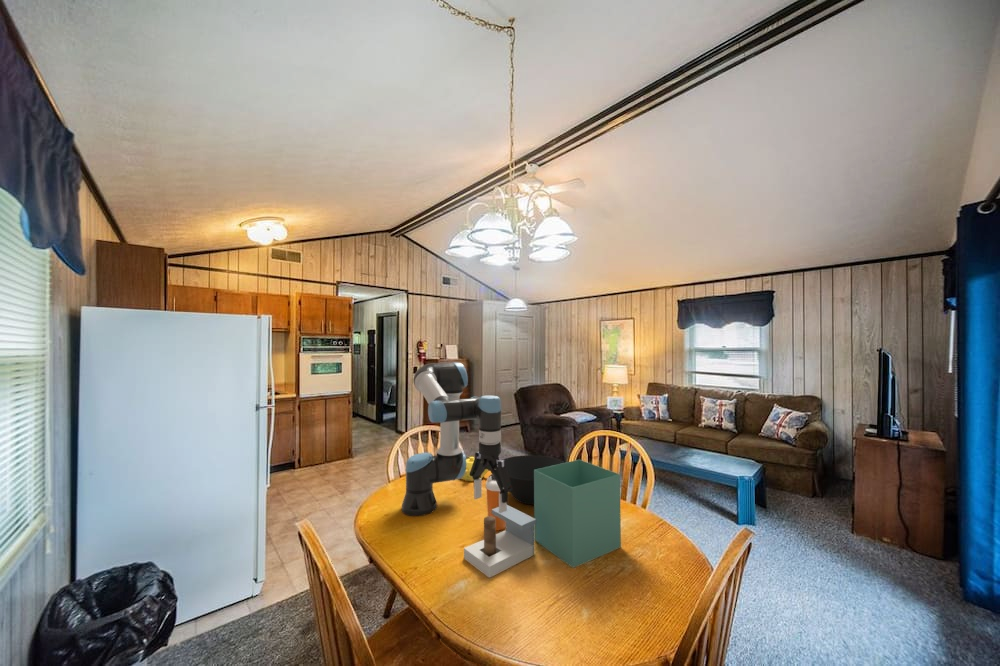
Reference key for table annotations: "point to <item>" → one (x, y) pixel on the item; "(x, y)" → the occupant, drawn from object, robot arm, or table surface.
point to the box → (577, 511)
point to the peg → (489, 535)
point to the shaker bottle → (494, 500)
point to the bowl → (526, 474)
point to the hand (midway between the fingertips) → (489, 504)
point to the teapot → (468, 468)
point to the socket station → (505, 543)
